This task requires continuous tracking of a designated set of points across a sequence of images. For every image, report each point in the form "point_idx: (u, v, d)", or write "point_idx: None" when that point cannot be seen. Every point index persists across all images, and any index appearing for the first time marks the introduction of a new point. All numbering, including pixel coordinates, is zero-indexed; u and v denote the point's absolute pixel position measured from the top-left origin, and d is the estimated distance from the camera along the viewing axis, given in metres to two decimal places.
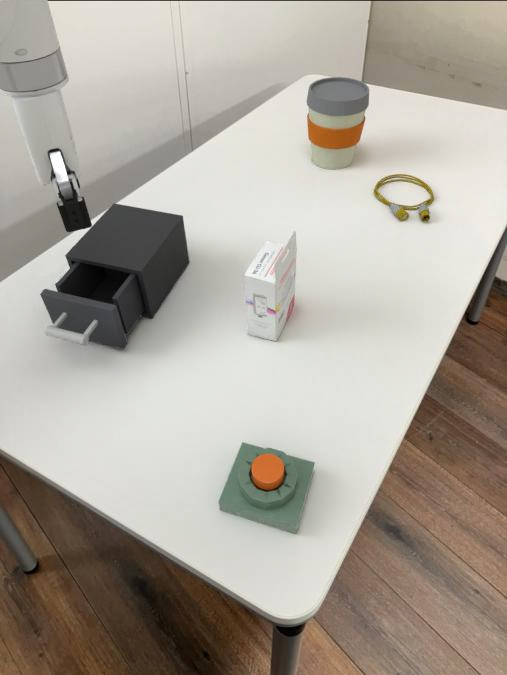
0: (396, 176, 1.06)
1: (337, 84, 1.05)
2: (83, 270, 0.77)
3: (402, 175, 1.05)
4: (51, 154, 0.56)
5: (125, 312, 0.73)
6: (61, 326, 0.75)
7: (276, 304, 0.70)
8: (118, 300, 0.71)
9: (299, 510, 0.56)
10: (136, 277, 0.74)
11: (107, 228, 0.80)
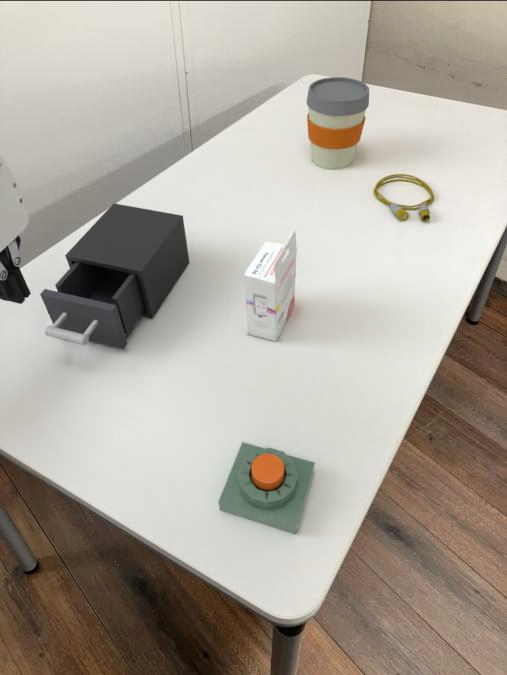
0: (396, 176, 1.06)
1: (337, 84, 1.05)
2: (83, 270, 0.77)
3: (402, 175, 1.05)
4: None
5: (125, 312, 0.73)
6: (61, 326, 0.75)
7: (276, 304, 0.70)
8: (118, 300, 0.71)
9: (299, 510, 0.56)
10: (136, 277, 0.74)
11: (107, 228, 0.80)
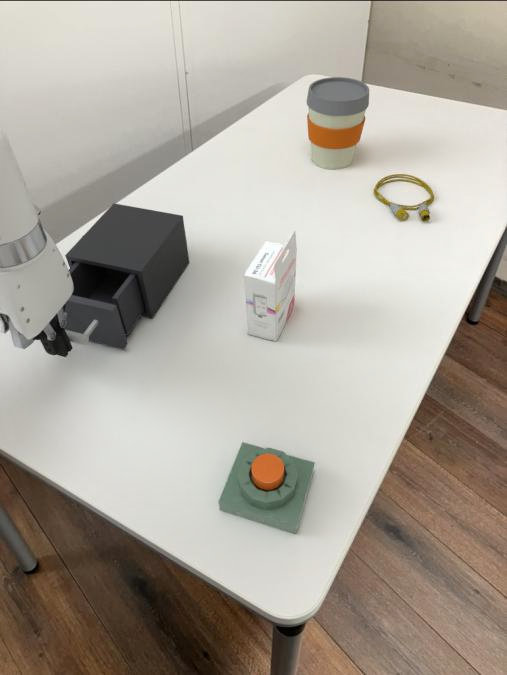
0: (396, 176, 1.06)
1: (337, 84, 1.05)
2: (83, 270, 0.77)
3: (402, 175, 1.05)
4: (8, 320, 0.59)
5: (125, 312, 0.73)
6: None
7: (276, 304, 0.70)
8: (118, 299, 0.71)
9: (299, 510, 0.56)
10: (136, 277, 0.74)
11: (107, 228, 0.80)
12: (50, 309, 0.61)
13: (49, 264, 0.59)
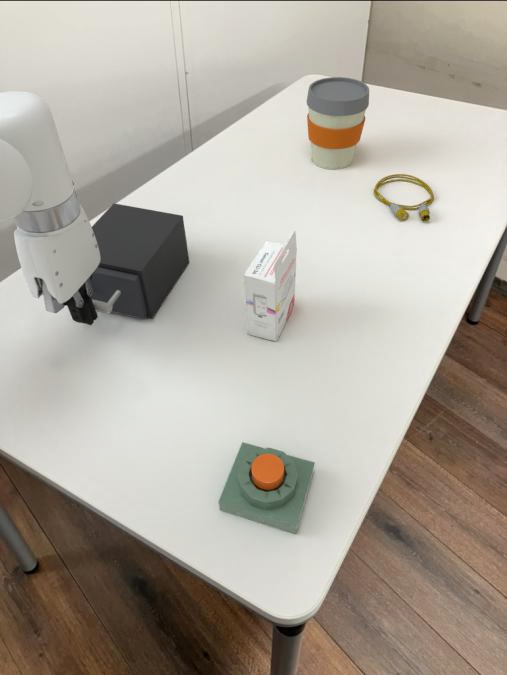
0: (396, 176, 1.06)
1: (337, 84, 1.05)
2: None
3: (402, 175, 1.05)
4: (42, 285, 0.63)
5: None
6: None
7: (276, 304, 0.70)
8: None
9: (299, 510, 0.56)
10: None
11: (107, 228, 0.80)
12: (80, 276, 0.66)
13: (81, 233, 0.63)
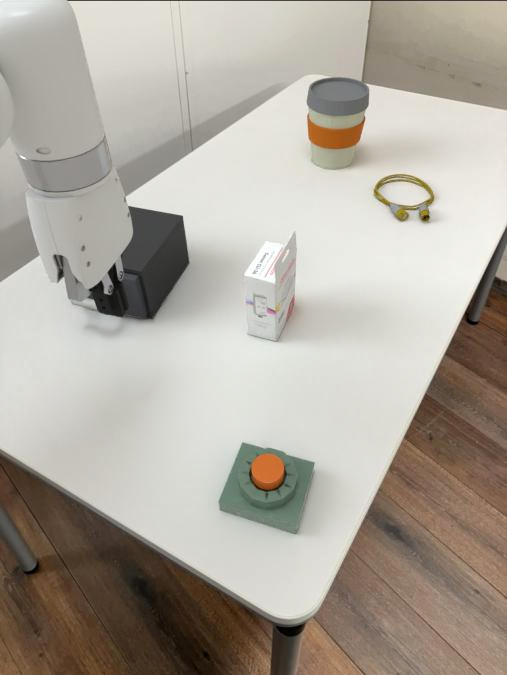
0: (396, 176, 1.06)
1: (337, 84, 1.05)
2: None
3: (402, 175, 1.05)
4: (63, 265, 0.48)
5: None
6: None
7: (276, 304, 0.70)
8: None
9: (299, 510, 0.56)
10: None
11: None
12: (110, 254, 0.51)
13: (112, 196, 0.48)
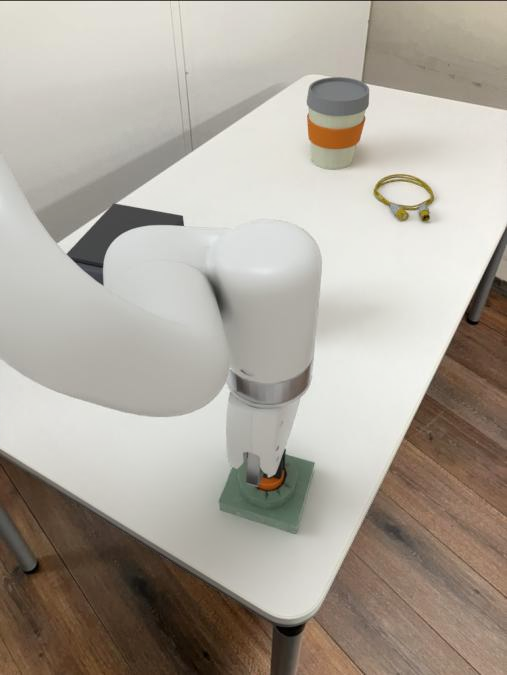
0: (396, 176, 1.06)
1: (337, 84, 1.05)
2: None
3: (402, 175, 1.05)
4: (249, 456, 0.46)
5: None
6: None
7: None
8: None
9: (299, 510, 0.56)
10: None
11: (107, 228, 0.80)
12: None
13: None
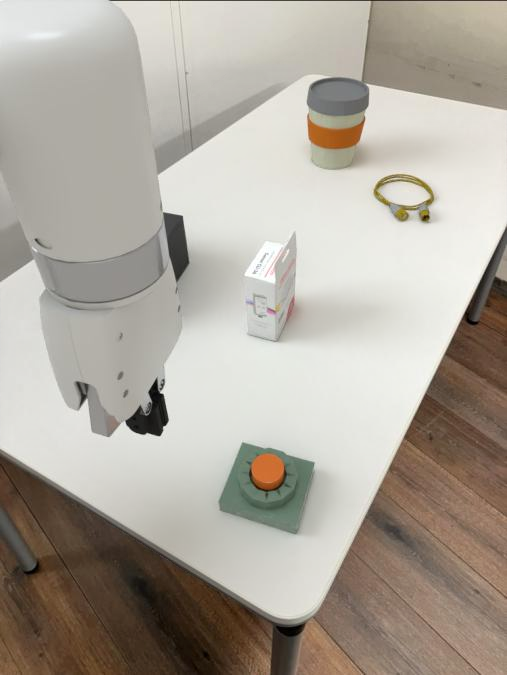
0: (396, 176, 1.06)
1: (337, 84, 1.05)
2: None
3: (402, 175, 1.05)
4: (89, 391, 0.33)
5: None
6: None
7: (276, 304, 0.70)
8: None
9: (299, 510, 0.56)
10: None
11: None
12: (154, 368, 0.36)
13: (162, 293, 0.33)
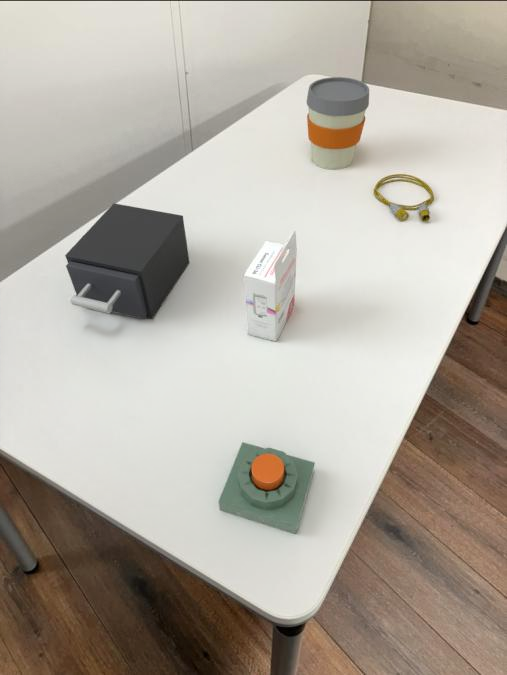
0: (396, 176, 1.06)
1: (337, 84, 1.05)
2: None
3: (402, 175, 1.05)
4: None
5: None
6: (84, 297, 0.79)
7: (276, 304, 0.70)
8: None
9: (299, 510, 0.56)
10: None
11: (107, 228, 0.80)
12: None
13: None
